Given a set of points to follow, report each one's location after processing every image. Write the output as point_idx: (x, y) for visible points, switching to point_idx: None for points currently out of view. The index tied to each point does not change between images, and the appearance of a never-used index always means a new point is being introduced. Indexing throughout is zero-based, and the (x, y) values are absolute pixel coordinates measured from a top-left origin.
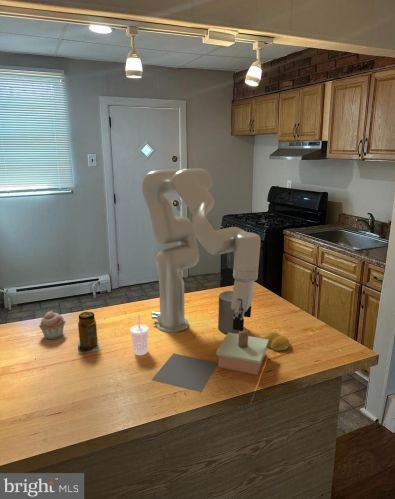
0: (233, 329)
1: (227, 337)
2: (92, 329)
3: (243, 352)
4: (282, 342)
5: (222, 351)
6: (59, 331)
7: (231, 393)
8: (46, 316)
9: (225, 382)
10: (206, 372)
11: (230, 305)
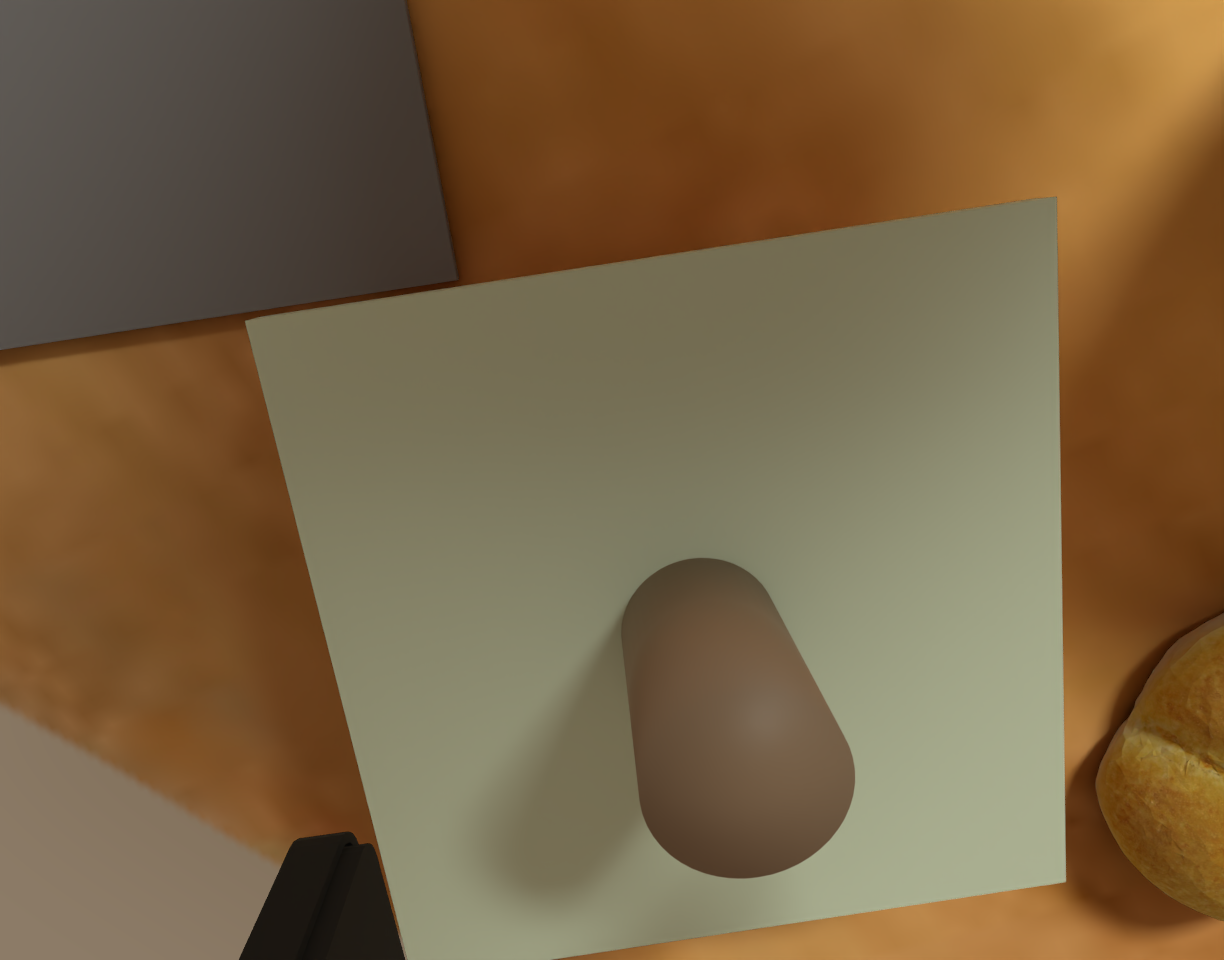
0: (307, 843)
1: (850, 274)
2: None
3: (506, 714)
4: (1208, 899)
5: (345, 411)
6: None
7: (21, 672)
8: None
9: (153, 534)
10: (154, 241)
11: None
